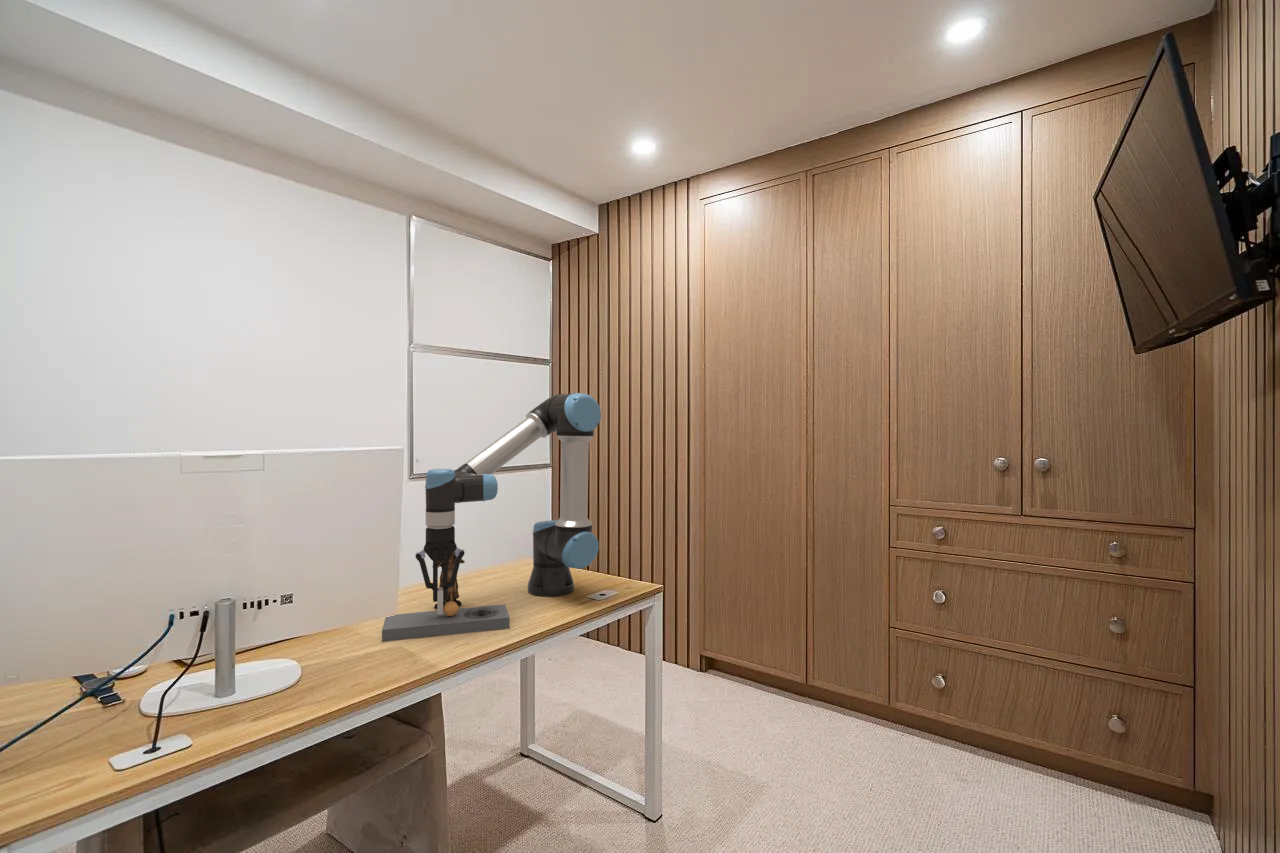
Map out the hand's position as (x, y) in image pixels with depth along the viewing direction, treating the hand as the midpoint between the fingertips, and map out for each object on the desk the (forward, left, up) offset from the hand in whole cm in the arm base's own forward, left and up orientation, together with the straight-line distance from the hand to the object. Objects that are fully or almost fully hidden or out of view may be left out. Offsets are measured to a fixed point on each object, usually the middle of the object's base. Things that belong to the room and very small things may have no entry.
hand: (440, 612), depth 166 cm
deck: (-2, 0, -4) cm, 5 cm away
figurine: (-2, -19, -4) cm, 19 cm away
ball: (-3, 0, +1) cm, 3 cm away
